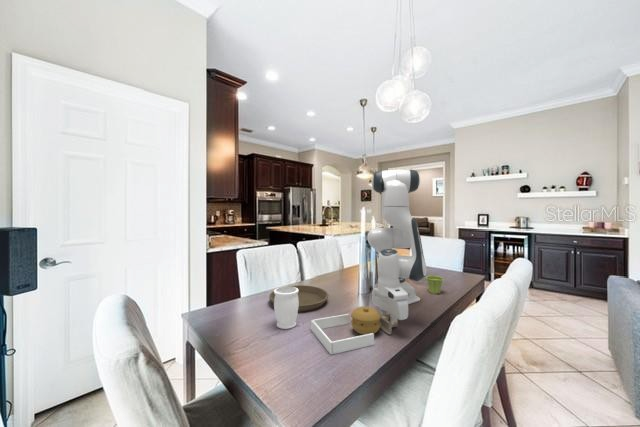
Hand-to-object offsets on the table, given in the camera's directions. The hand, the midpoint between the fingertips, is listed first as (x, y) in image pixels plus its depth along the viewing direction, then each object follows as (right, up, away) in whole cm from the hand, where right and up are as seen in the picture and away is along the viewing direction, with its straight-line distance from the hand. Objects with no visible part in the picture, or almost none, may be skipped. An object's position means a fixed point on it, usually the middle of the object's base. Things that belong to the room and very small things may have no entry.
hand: (388, 321), depth 109 cm
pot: (-10, -3, -4) cm, 11 cm away
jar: (-43, -2, +2) cm, 43 cm away
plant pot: (+39, -1, +45) cm, 59 cm away
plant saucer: (-40, -2, +30) cm, 49 cm away
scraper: (0, -2, 0) cm, 2 cm away
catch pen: (-20, -2, -8) cm, 22 cm away
